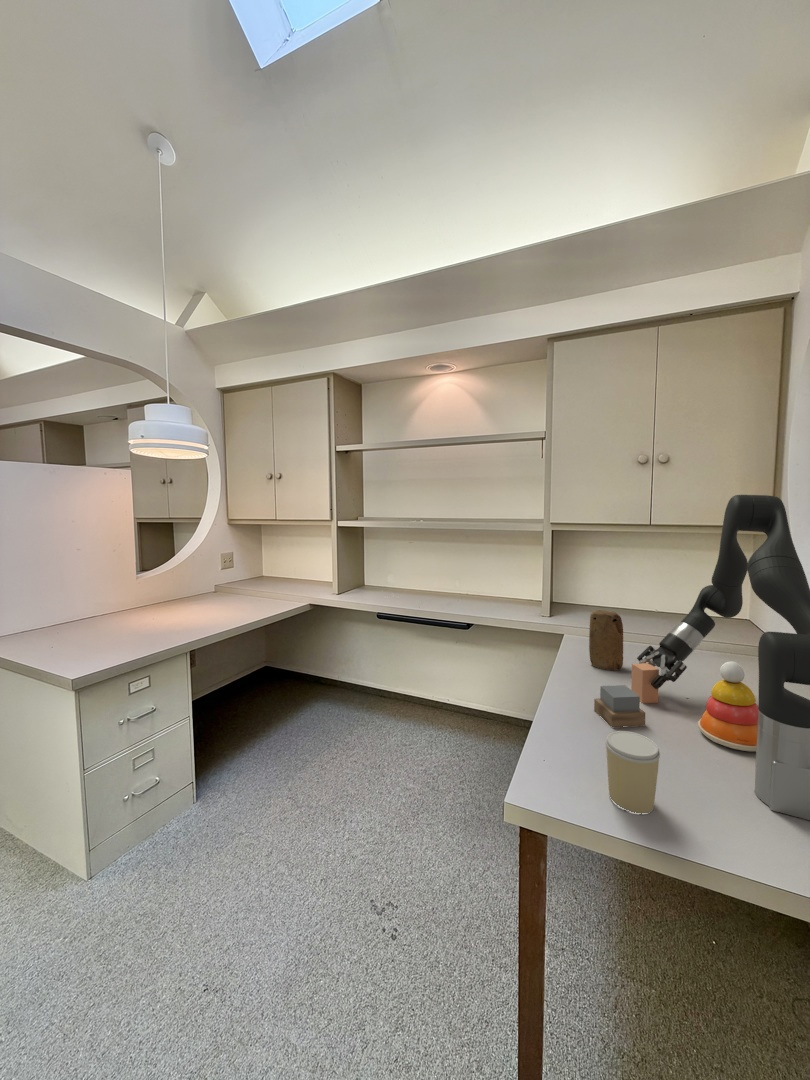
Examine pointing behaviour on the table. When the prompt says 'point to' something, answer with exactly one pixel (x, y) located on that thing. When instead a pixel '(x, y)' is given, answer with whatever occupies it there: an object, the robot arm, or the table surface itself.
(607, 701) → the tower top
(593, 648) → the block
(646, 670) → the pillar
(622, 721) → the tower base
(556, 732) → the table surface
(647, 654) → the robot arm
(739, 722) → the stacking toy
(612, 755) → the coffee cup
